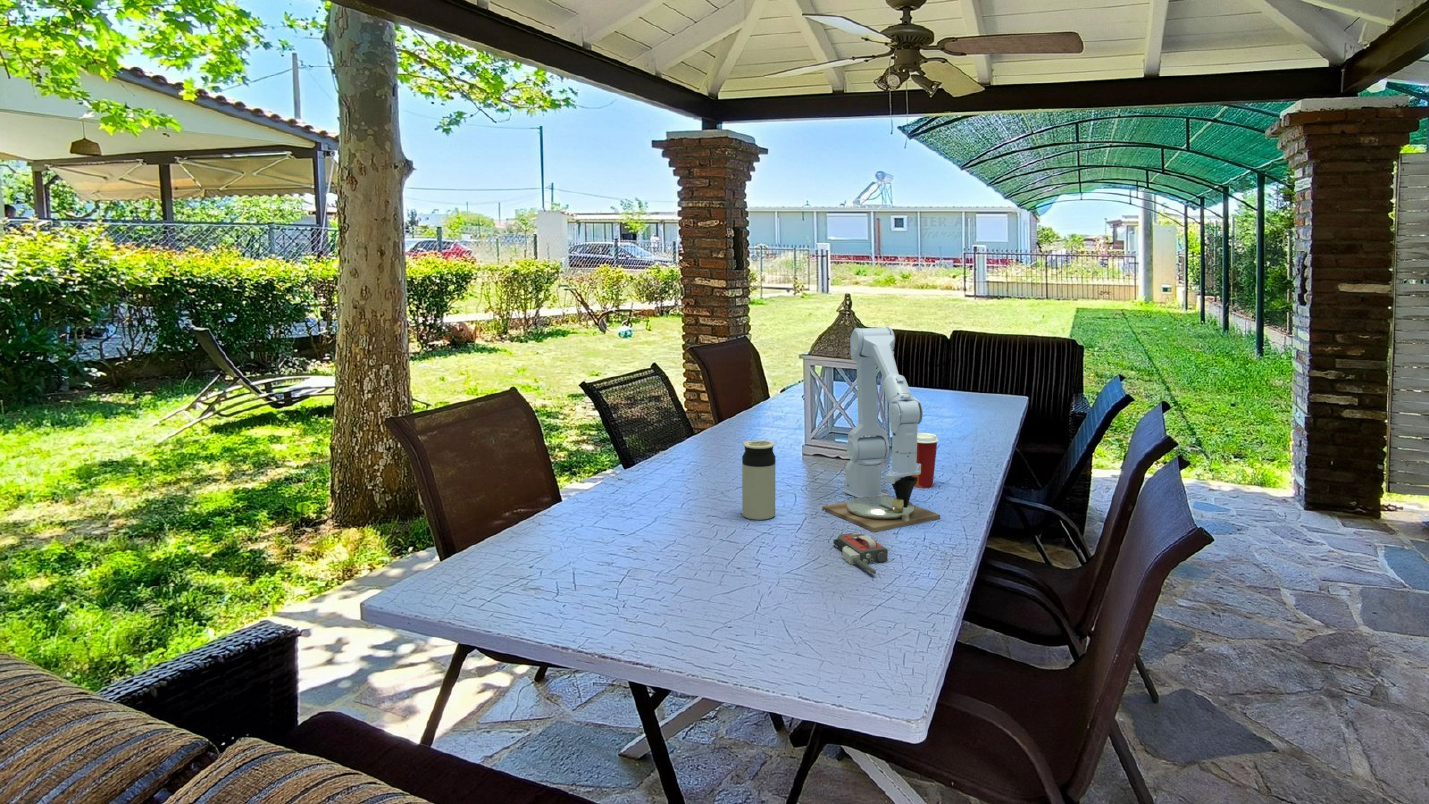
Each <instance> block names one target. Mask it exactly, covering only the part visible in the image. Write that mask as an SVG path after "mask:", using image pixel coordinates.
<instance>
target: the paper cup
mask: <svg viewBox="0 0 1429 804" xmlns="http://www.w3.org/2000/svg"><path fill="white" fill-rule="evenodd" d="M938 442H939V439H938V436H937V435H936V434H934V433H930V432H929V433H928V432H917V461H916V463H918V464H921V474H919V475H911V476H912V477H917V478H918V480H917V482H916V484H915V486H914V488H919V489H929V488H932V487H933V485H934V476H935V467H936V458H937V450H938V449H937V448H938V447H937V446H938Z"/></svg>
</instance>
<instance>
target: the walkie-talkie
mask: <svg viewBox="0 0 1429 804" xmlns="http://www.w3.org/2000/svg"><path fill="white" fill-rule="evenodd" d="M833 545H835V546H836V547H837V549H839V550H840V551H841V552H842V559H843V560H845V561H846V562H848V564H849V565H858V566H859V567H861V568H863V570H865V571H868V572H870V573H871V574H873V575H876V574H877V571H876V570H875V569H874V568H873V567H871V566H870V565H868V564H870V563H871V564H873V563H879V562H880V563H882V562H886V561H888V552H889V551H888V548H887V547H886V546H885V547H884V546H883V545H882V544H881V543H878V542H877V540H876V539H875V538H872V537H871V536H870V535H868V534H867V535H865V534H864V533H862V532H849V533H843V534H842V533H841V534H839V535H838V536H837V538H834V539H833Z"/></svg>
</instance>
